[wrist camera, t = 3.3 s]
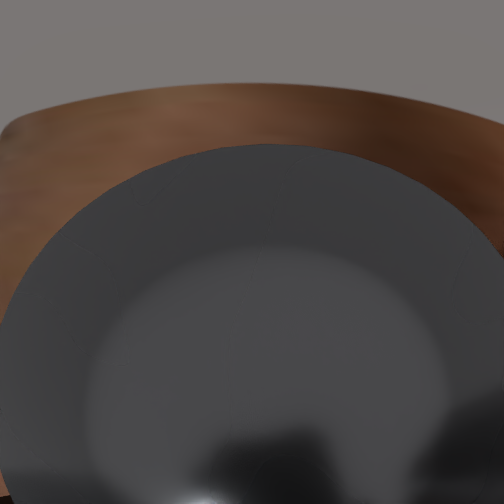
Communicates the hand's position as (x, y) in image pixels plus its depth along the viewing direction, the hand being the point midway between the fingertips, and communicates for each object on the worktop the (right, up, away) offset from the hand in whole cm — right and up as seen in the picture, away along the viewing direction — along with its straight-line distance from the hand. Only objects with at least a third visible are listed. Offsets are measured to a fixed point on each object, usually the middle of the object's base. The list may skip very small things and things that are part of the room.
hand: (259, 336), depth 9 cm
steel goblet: (+1, -3, +6) cm, 7 cm away
